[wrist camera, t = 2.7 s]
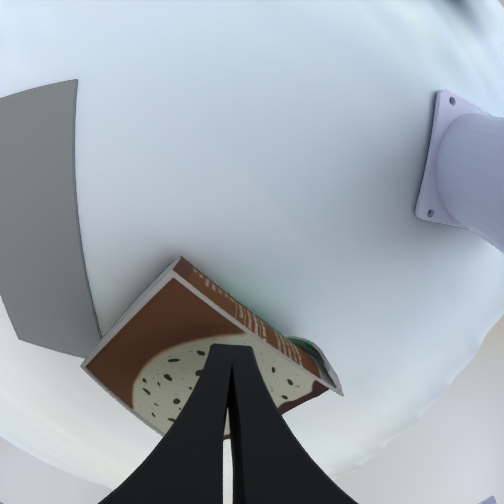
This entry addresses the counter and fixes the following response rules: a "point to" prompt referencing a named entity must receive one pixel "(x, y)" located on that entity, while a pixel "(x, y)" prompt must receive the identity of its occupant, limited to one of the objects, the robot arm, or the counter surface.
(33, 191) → the mat
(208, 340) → the food container
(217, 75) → the counter surface
